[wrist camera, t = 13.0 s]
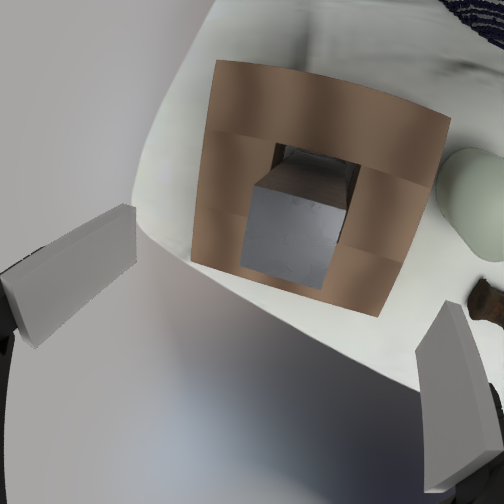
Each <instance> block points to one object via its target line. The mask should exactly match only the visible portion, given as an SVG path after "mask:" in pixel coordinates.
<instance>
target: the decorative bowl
mask: <svg viewBox="0 0 504 504" xmlns="http://www.w3.org/2000/svg"><path fill="white" fill-rule="evenodd" d="M439 1H441V2H444V5H446V8H448V9H449V11H450V12H453V13H454V15H455V16H457V17H459V20H462V23H463V24H466V25H468V26H470V27H471V29H472V30H474V31H476V32H479V35H480V36H482V37H484V38H486V39H488V42H490V43H492V44H494V45H496V46H498V47H500V48H502V49H504V44H502V43H500V42H498V41H496V40H497V39H498V40H502V41H504V30H501V29H499V28H495V27H493V28H492V27H490V26H488V25H487V26H486V27H485V26H479V25H478V26H477V27H474V26H472V24H473V23H484V24H491V25H495V26H497V27H502V28H503V29H504V24H503V23H502V22H497V21H496V18H494V17H493V18H492V20H491V19H489V20H488V19H484V18H482V19H481V18H478V16H477V15H472V13H475V14H477V13H478V14H483V15H484V14H486V15H490V16H492V15H493V16H495V17H497V18H498V17H499V18H501V19H503V20H504V15H501V14H499V13H494V12H493V13H492V12H490V11H491V10H493V11H498V12H500V13H504V5H502V4H500V3H499V4H497V5H496V4H494V3H492V2H491V3H489V2H487V1H482V0H480V1H479V0H463V1H462V0H459V1H456V0H455V1H454V2H452V1H450V2H449V3H448V1H446V0H439ZM499 1H500V0H499ZM501 1H504V0H501ZM470 4H471V5H474V7H476V8H477V7H479V8H483V9H485V8H486V9H488V10H490V11H488V10H486V11H485V10H482V11H479V10H477V9H470V10H469V11H468V10H465V11H463V10H461V11H460V12H457V10H458V9H459V8H460V5H461V8H469V7H470ZM464 13H465V14H468V13H470V14H471V15H469V19H468V16H467V15H465V16H464V19H463V17H462V16H461V15H463V14H464ZM494 39H496V40H494Z"/></svg>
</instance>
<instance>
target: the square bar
mask: <svg viewBox="0 0 504 504" xmlns="http://www.w3.org/2000/svg"><path fill="white" fill-rule="evenodd" d="M346 211H347V206H346V177H345V163H342V162H339V161H335V160H332V159H328V158H324V157H321V156H317V155H313V154H309V153H305V152H301V151H297V150H296V151H295V152H293V153H292V154H291V155H290V156H288V157H287V158H286V159H285V160H283V161H282V162H281V163H280V164H279V165H277V166H276V167H275V168H274V169H272V170H271V171H270V172H269V173H268V174H266V175H265V176H264V177H263V178H262V179H260V180H259V181H258V182H257V183H256V184H254V185H253V190H252V196H251V201H250V207H249V212H248V218H247V224H246V229H245V235H244V240H243V246H242V252H241V257H240V263H239V266H241V267H245V268H248V269H251V270H254V271H258V272H261V273H264V274H268V275H271V276H274V277H278V278H281V279H284V280H288V281H291V282H294V283H298V284H301V285H304V286H308V287H311V288H315V289H318V290H321V287H322V285H323V282H324V279H325V276H326V273H327V270H328V267H329V264H330V261H331V258H332V255H333V252H334V249H335V246H336V243H337V240H338V237H339V234H340V231H341V227H342V224H343V221H344V218H345V214H346Z"/></svg>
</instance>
